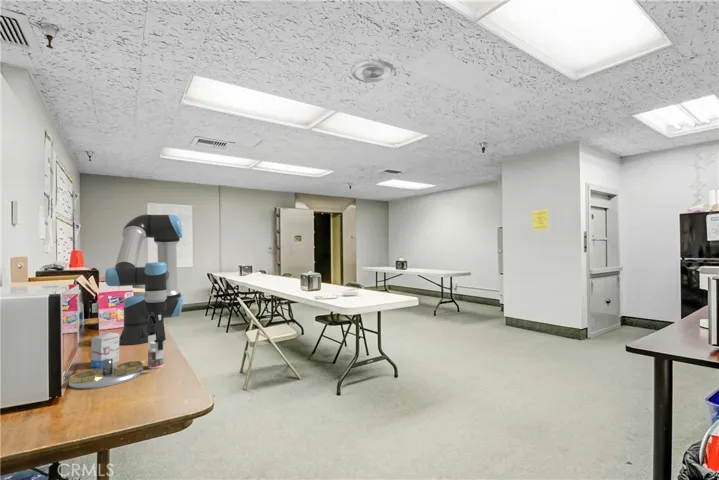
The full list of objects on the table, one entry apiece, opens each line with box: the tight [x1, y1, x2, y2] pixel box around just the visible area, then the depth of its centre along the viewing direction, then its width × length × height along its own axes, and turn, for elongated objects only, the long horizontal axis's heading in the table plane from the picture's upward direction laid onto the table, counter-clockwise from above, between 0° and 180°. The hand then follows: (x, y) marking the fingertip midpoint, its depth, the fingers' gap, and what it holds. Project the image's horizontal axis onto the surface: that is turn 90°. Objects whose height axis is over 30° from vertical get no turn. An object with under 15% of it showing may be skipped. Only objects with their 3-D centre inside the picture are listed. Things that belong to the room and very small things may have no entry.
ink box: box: [90, 332, 120, 368], centre depth 142 cm, size 9×5×12 cm, turn 168°
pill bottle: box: [147, 342, 165, 370], centre depth 138 cm, size 5×5×10 cm
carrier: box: [68, 359, 144, 390], centre depth 128 cm, size 22×22×6 cm
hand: (155, 354), depth 138 cm, fingers open, 13 cm apart
